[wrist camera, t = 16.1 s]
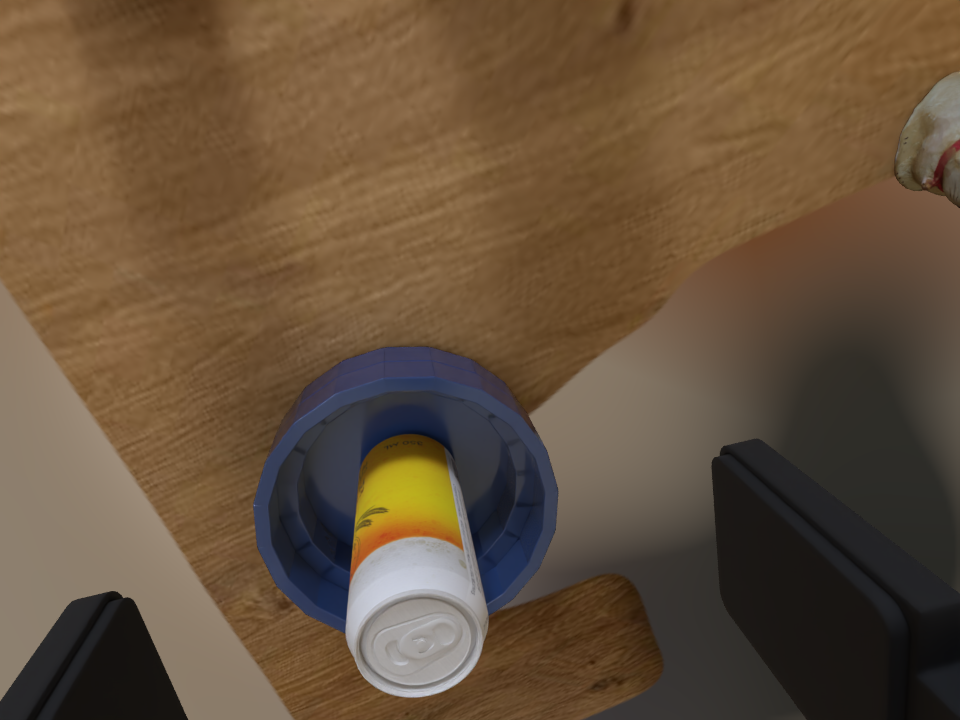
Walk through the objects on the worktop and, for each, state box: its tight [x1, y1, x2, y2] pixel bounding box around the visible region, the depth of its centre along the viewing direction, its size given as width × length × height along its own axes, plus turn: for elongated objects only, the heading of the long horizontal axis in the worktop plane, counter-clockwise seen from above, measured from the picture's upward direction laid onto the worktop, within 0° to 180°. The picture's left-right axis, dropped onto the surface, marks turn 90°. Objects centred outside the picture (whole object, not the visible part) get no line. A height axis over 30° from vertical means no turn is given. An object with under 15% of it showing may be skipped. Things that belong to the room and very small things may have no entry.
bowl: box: [253, 347, 558, 634], centre depth 38 cm, size 17×17×6 cm
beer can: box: [345, 434, 489, 698], centre depth 33 cm, size 6×6×15 cm
